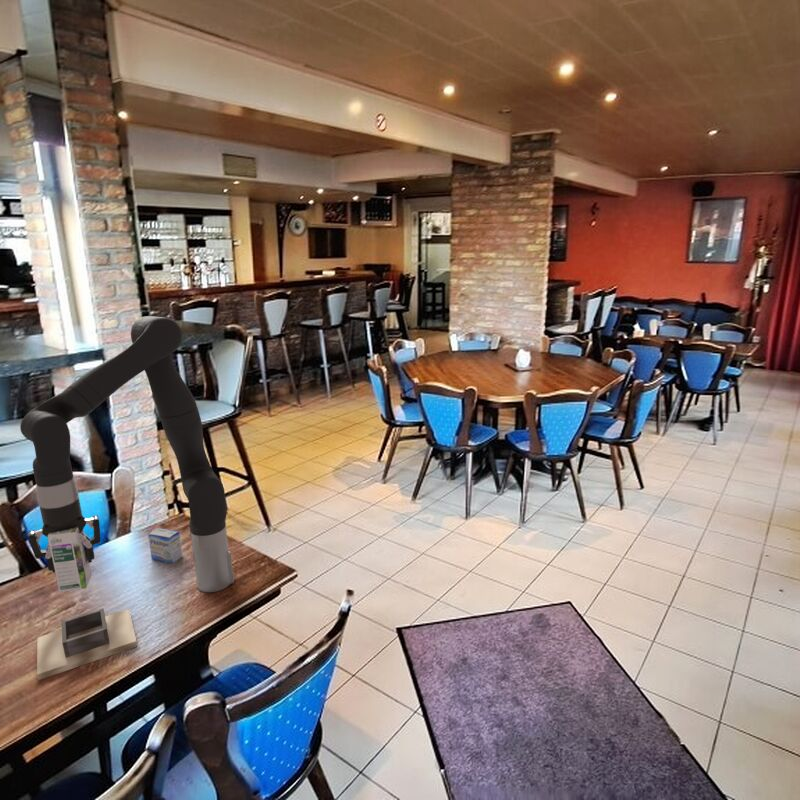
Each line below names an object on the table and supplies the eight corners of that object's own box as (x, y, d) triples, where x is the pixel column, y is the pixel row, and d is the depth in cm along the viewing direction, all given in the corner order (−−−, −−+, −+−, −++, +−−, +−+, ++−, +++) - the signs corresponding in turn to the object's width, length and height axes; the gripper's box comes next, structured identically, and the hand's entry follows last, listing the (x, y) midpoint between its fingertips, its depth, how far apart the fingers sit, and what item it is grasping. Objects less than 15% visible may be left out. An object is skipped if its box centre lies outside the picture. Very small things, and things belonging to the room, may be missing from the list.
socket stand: (129, 614, 145) (126, 595, 143) (137, 646, 133) (134, 626, 132) (38, 642, 135) (34, 623, 133) (38, 680, 123) (33, 659, 122)
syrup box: (58, 593, 126) (46, 535, 122) (65, 578, 131) (54, 522, 127) (86, 588, 127) (75, 531, 123) (92, 574, 133) (82, 519, 129)
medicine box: (151, 559, 169) (147, 534, 167) (161, 552, 173) (157, 527, 171) (173, 563, 167) (169, 537, 164) (183, 556, 171) (179, 530, 169)
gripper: (94, 485, 130) (106, 549, 135) (20, 500, 123) (35, 567, 128) (96, 497, 124) (109, 564, 129) (19, 514, 117) (35, 584, 121)
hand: (72, 565), depth 128 cm, fingers closed on syrup box, 6 cm apart
